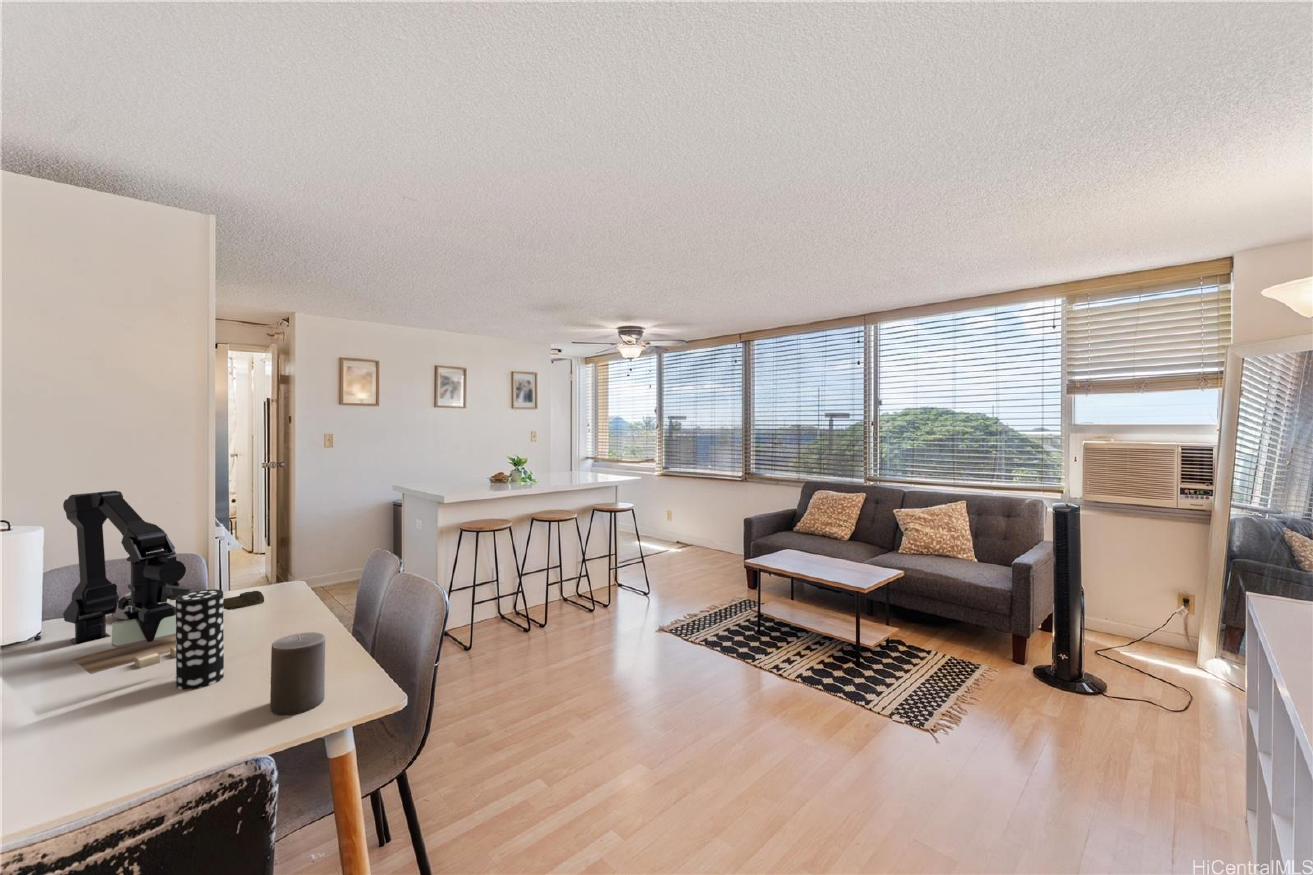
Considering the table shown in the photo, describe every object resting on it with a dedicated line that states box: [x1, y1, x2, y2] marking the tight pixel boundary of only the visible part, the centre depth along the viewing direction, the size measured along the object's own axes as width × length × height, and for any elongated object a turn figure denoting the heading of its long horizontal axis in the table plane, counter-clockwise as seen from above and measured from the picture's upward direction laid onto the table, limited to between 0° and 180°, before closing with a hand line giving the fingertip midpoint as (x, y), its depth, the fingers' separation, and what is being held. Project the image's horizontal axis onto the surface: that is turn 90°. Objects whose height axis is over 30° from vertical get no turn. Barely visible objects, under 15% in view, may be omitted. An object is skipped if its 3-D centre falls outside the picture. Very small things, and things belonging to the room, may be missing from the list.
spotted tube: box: [175, 588, 225, 691], centre depth 124 cm, size 8×8×20 cm
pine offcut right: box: [169, 646, 176, 659], centre depth 134 cm, size 4×4×4 cm
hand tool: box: [223, 590, 265, 610], centre depth 169 cm, size 19×4×5 cm, turn 130°
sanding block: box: [111, 615, 176, 648], centre depth 138 cm, size 4×12×6 cm, turn 149°
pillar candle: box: [269, 631, 326, 716], centre depth 115 cm, size 10×10×15 cm
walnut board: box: [72, 635, 176, 675], centre depth 137 cm, size 14×24×2 cm, turn 149°
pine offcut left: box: [134, 652, 161, 669], centre depth 129 cm, size 4×4×4 cm
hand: (147, 639), depth 138 cm, fingers closed on sanding block, 4 cm apart
